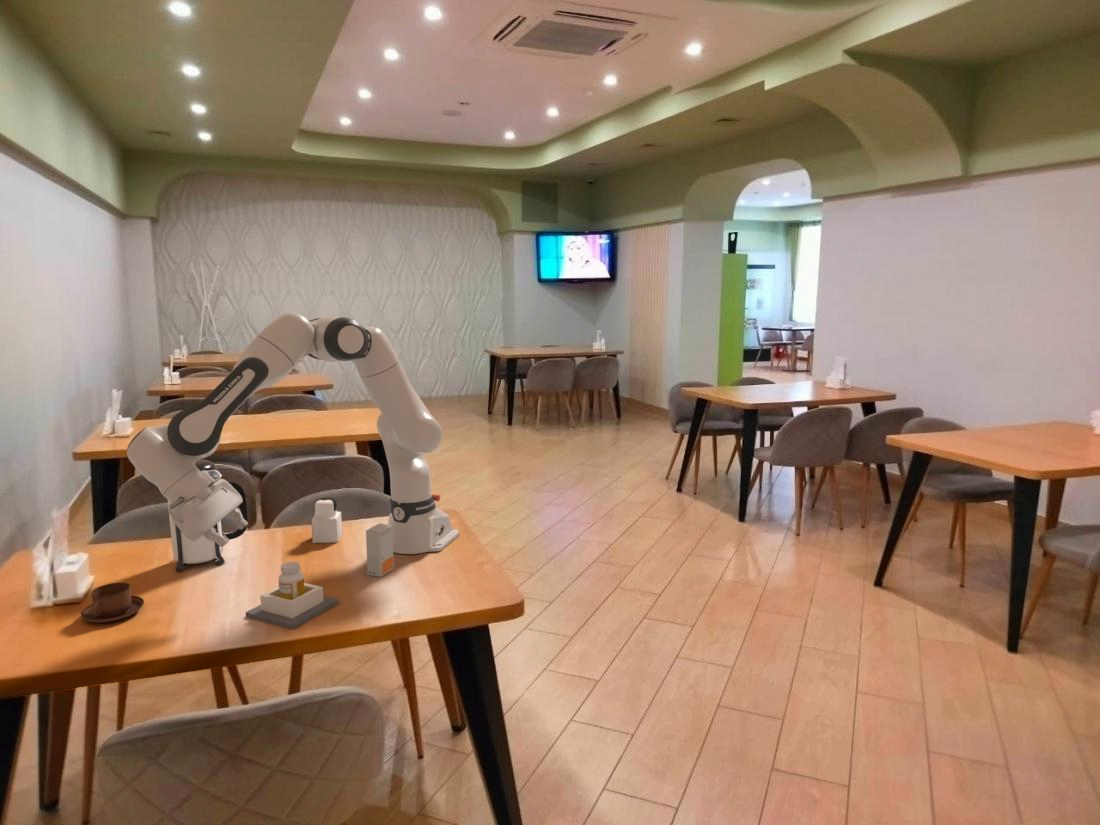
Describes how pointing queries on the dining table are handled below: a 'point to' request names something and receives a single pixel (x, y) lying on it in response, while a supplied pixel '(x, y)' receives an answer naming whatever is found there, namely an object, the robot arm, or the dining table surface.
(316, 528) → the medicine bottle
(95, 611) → the cup and saucer
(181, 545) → the coffee press
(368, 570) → the skincare box
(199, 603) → the dining table surface
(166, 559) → the dining table surface
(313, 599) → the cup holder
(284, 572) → the supplement bottle
